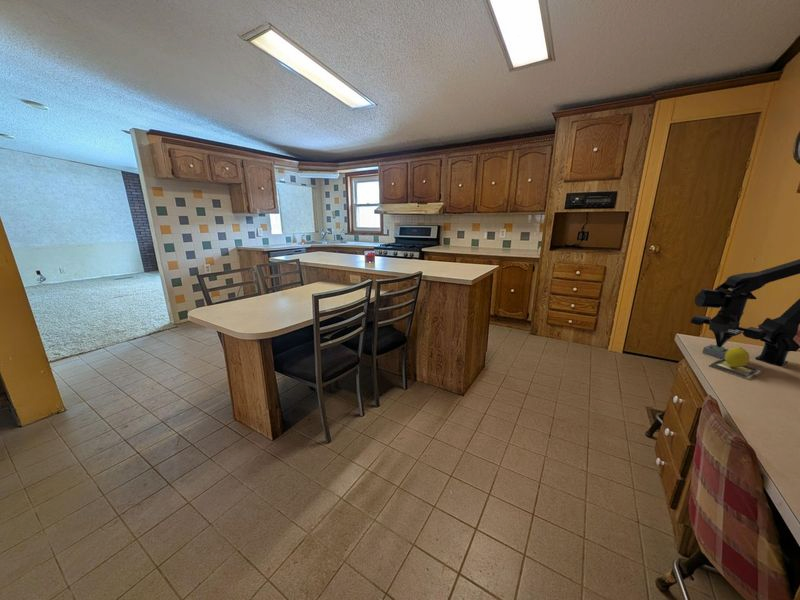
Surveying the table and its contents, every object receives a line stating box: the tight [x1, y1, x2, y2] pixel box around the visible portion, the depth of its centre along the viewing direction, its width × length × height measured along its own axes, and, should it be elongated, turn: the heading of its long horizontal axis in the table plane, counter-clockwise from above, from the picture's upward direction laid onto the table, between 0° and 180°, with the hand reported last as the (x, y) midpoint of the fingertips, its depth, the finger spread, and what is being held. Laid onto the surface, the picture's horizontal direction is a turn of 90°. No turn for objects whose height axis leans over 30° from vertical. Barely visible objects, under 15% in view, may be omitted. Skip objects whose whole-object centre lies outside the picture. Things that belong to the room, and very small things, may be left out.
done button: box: [712, 344, 725, 352], centre depth 113 cm, size 3×3×3 cm
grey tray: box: [708, 358, 764, 381], centre depth 102 cm, size 11×10×1 cm
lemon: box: [725, 346, 750, 368], centre depth 101 cm, size 6×6×8 cm
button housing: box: [702, 344, 730, 359], centre depth 113 cm, size 6×6×2 cm
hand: (719, 346), depth 112 cm, fingers closed, pressing on done button
